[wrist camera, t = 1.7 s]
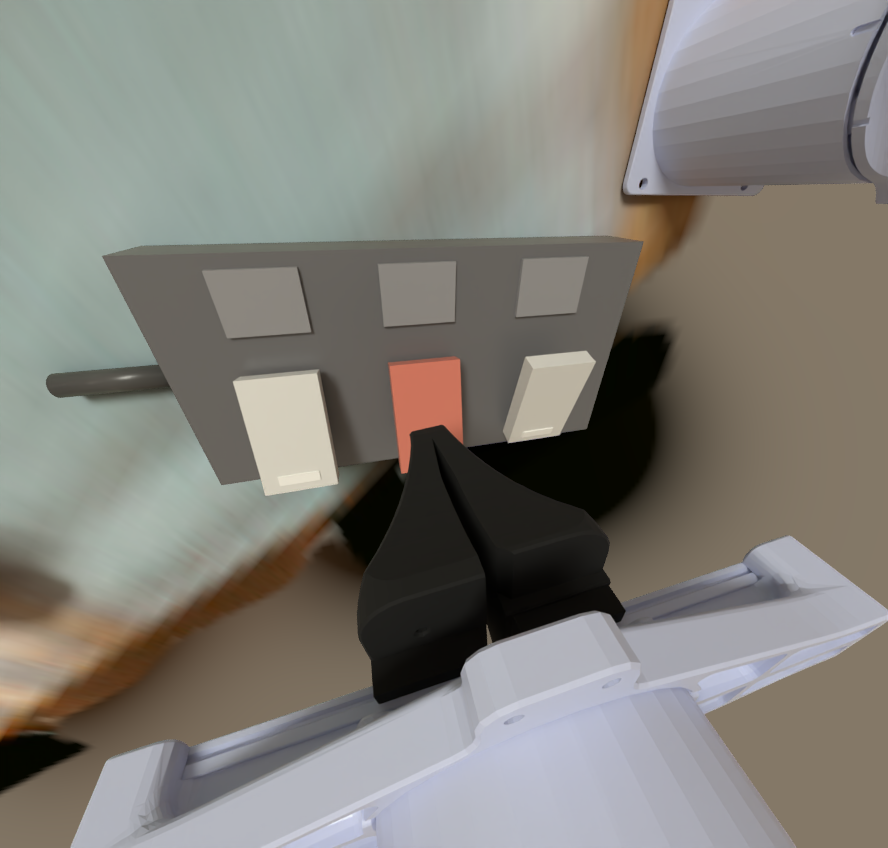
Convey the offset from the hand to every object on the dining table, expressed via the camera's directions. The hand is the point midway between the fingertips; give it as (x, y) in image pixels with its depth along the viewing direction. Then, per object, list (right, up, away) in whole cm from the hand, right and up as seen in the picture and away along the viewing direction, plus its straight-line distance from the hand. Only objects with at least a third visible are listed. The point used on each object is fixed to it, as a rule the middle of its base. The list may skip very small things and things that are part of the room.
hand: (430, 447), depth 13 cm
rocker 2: (+6, +3, +7) cm, 10 cm away
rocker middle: (-1, +2, +6) cm, 6 cm away
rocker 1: (-7, +1, +5) cm, 9 cm away
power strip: (-4, +5, +7) cm, 10 cm away
